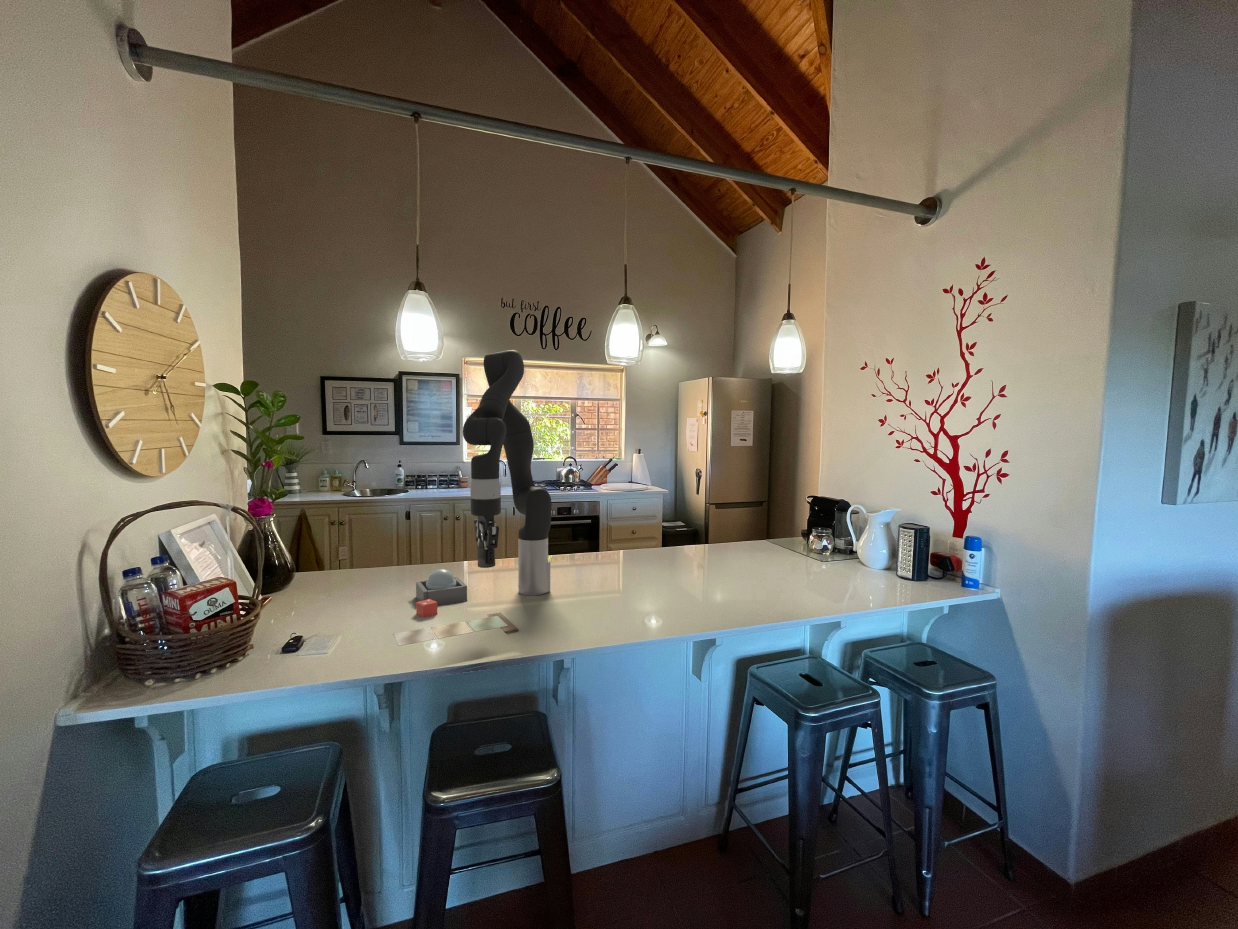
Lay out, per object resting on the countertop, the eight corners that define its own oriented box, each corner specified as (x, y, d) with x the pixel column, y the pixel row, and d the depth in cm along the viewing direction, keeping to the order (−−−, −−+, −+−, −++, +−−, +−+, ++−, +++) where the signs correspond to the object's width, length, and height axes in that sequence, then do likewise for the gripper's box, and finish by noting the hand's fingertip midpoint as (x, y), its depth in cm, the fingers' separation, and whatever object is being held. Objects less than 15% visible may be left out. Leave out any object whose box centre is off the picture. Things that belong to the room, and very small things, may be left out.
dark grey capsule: (492, 562, 144) (491, 536, 143) (497, 566, 140) (497, 539, 139) (475, 564, 141) (475, 538, 141) (480, 568, 138) (480, 541, 137)
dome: (452, 588, 170) (452, 564, 169) (459, 596, 162) (459, 570, 162) (423, 592, 165) (423, 567, 165) (429, 600, 158) (429, 574, 158)
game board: (500, 614, 151) (500, 611, 151) (518, 631, 139) (518, 627, 139) (383, 634, 136) (383, 631, 135) (392, 655, 124) (392, 651, 123)
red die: (430, 613, 151) (430, 598, 151) (437, 616, 149) (437, 601, 148) (416, 616, 148) (416, 601, 148) (423, 620, 146) (423, 605, 145)
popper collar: (456, 590, 173) (456, 576, 172) (467, 601, 162) (467, 586, 162) (415, 596, 166) (415, 581, 166) (424, 607, 156) (423, 592, 155)
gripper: (509, 498, 135) (509, 566, 136) (491, 492, 147) (492, 554, 149) (479, 500, 131) (480, 570, 133) (463, 493, 144) (464, 557, 145)
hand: (486, 561), depth 141 cm, fingers closed on dark grey capsule, 4 cm apart
